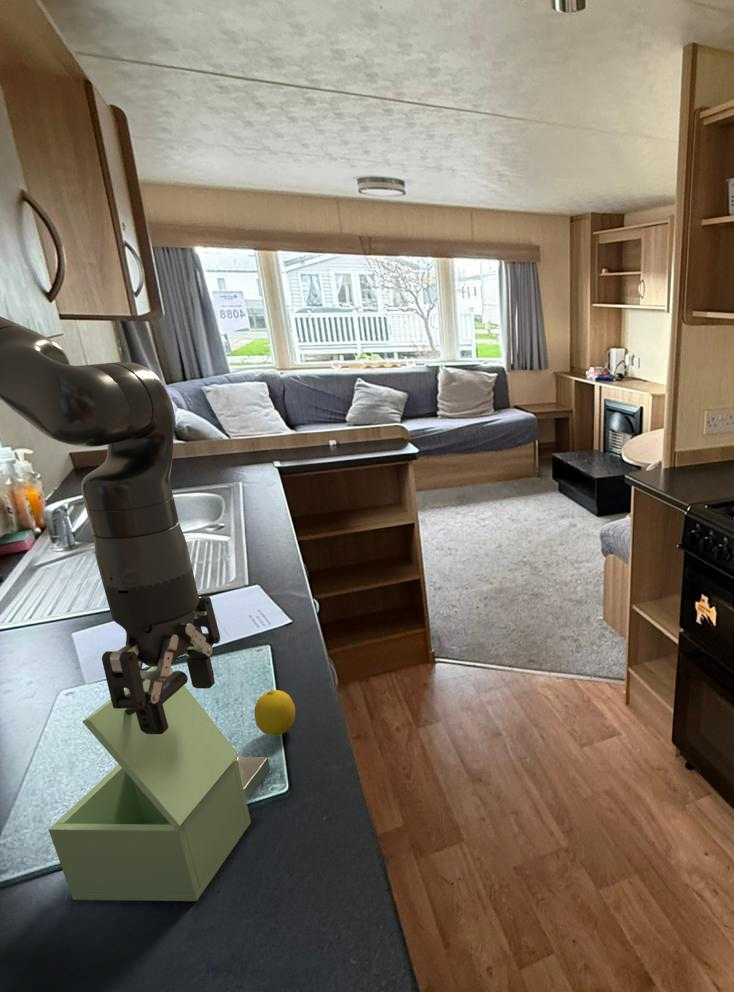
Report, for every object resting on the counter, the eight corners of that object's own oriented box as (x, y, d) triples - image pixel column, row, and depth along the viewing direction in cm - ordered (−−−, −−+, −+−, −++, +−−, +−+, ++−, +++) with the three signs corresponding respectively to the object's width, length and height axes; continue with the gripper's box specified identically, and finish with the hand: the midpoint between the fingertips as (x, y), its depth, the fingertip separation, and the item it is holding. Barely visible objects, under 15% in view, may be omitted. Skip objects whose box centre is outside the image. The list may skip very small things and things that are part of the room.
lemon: (261, 751, 97) (252, 705, 94) (257, 731, 101) (248, 687, 98) (301, 739, 99) (293, 694, 97) (296, 720, 104) (288, 677, 101)
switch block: (157, 809, 85) (150, 784, 84) (193, 769, 93) (187, 745, 91) (241, 810, 85) (235, 785, 84) (270, 769, 93) (265, 746, 91)
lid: (81, 721, 64) (121, 703, 63) (158, 661, 75) (193, 645, 74) (173, 828, 69) (212, 812, 68) (233, 756, 80) (267, 742, 79)
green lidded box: (72, 900, 72) (47, 829, 69) (143, 821, 83) (125, 757, 80) (196, 901, 72) (177, 830, 69) (251, 822, 83) (237, 758, 80)
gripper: (156, 545, 72) (186, 673, 77) (53, 599, 58) (99, 749, 64) (224, 546, 72) (249, 674, 77) (136, 600, 58) (175, 750, 64)
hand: (181, 708), depth 70 cm, fingers open, 8 cm apart
